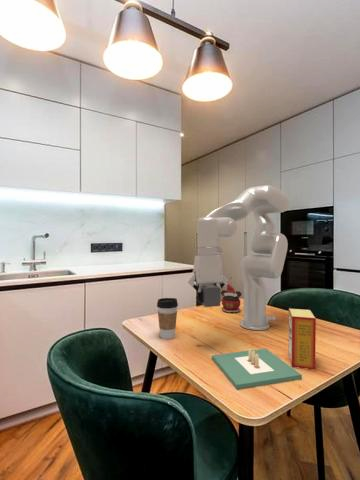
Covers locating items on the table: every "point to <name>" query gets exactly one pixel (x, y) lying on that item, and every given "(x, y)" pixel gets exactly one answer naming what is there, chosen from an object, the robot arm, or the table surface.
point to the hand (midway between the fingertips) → (208, 301)
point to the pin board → (254, 368)
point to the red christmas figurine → (230, 298)
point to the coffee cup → (167, 317)
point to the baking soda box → (302, 338)
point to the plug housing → (211, 295)
